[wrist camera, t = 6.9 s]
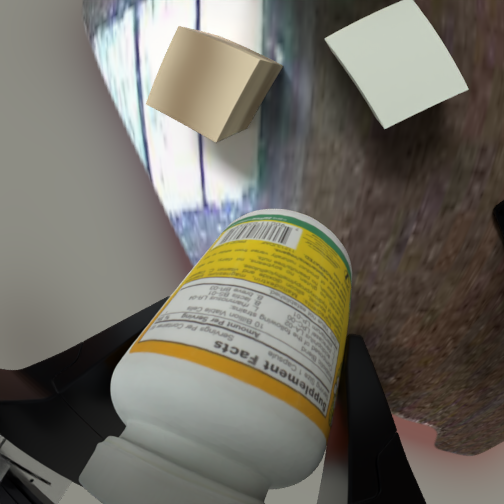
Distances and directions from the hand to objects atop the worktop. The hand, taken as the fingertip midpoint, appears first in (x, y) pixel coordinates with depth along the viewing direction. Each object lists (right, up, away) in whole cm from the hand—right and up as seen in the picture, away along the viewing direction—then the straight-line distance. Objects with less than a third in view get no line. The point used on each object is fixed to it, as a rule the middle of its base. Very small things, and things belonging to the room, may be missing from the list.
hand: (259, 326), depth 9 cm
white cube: (+8, +13, +5) cm, 16 cm away
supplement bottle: (+1, +2, +3) cm, 3 cm away
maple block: (-2, +14, +8) cm, 16 cm away
